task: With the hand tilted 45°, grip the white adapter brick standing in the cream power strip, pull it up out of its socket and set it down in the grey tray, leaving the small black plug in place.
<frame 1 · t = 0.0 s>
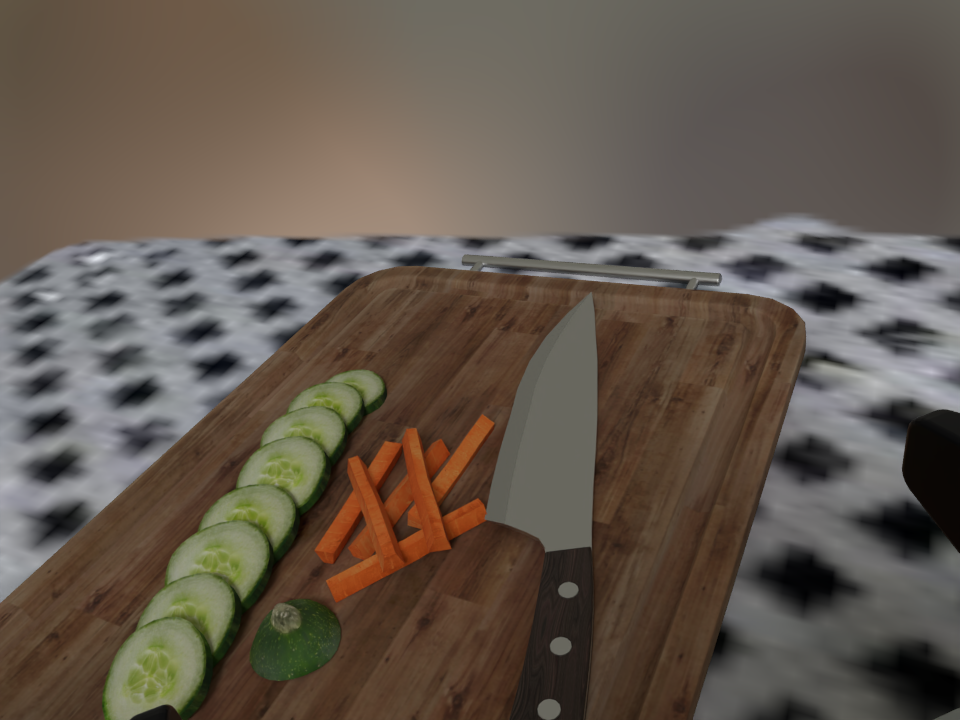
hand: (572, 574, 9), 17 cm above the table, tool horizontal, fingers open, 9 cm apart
chopping board: (391, 552, 34), on the table
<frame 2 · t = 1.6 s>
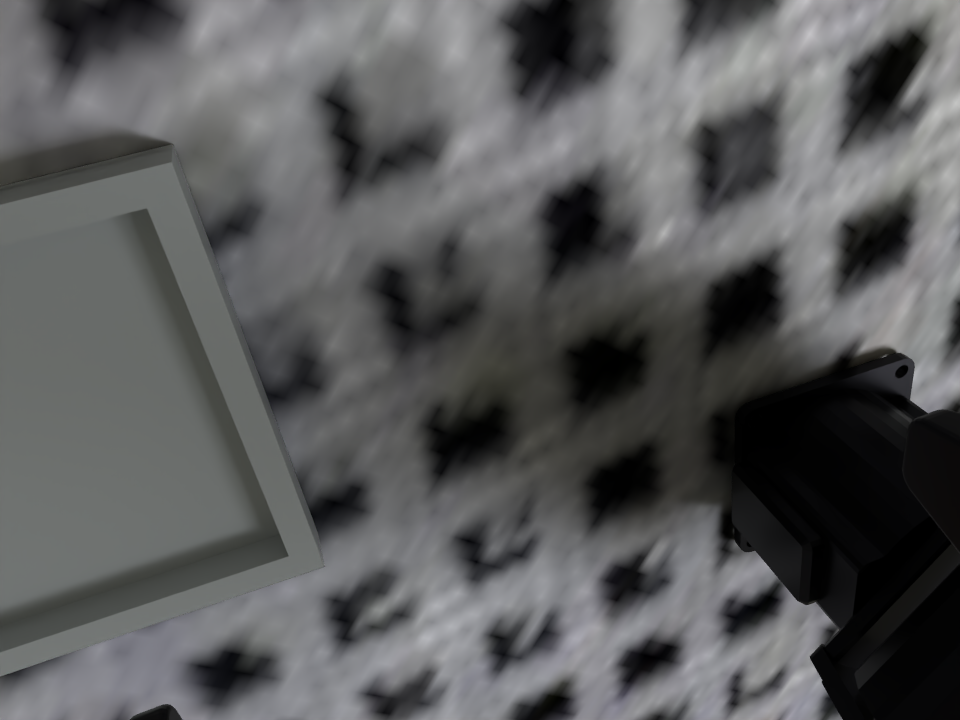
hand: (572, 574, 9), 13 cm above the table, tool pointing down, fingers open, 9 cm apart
tray: (16, 439, 20), on the table
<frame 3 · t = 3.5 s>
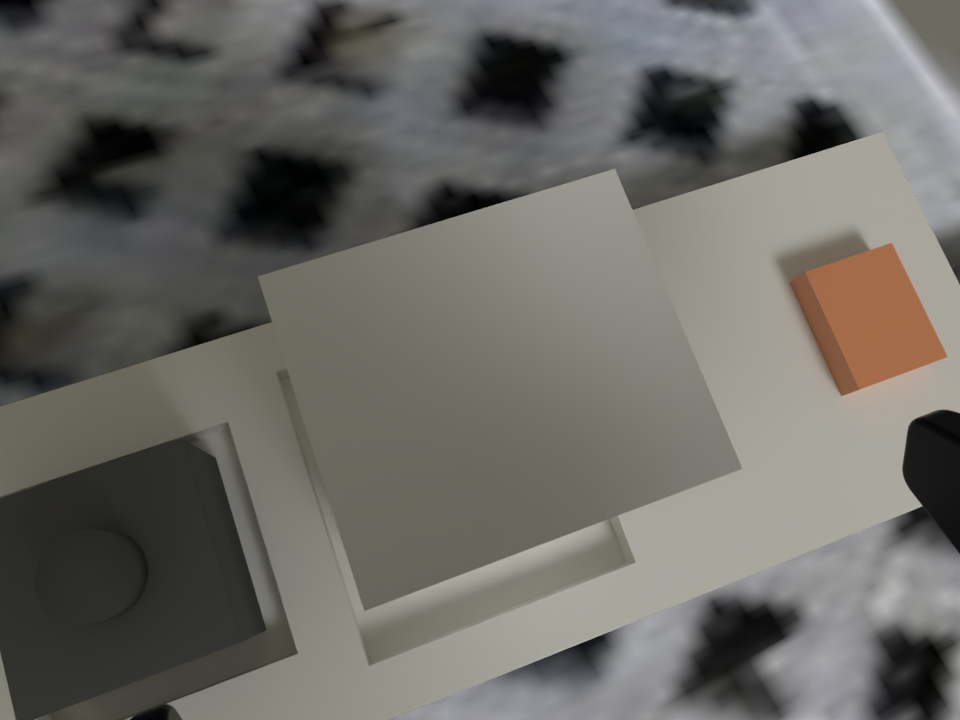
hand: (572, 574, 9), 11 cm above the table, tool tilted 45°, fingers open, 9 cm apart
adapter: (451, 468, 19), point 1 cm above the table, touching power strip
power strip: (507, 453, 20), on the table
black plug: (151, 573, 18), point 1 cm above the table, touching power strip
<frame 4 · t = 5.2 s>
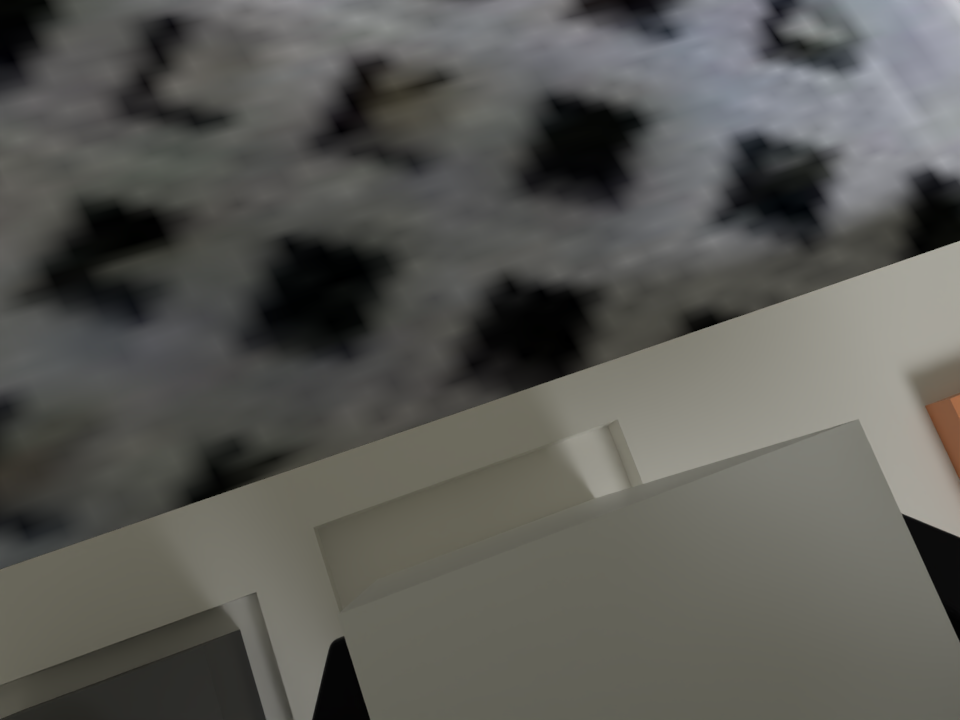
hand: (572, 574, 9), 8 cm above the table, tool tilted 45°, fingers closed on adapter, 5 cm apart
adapter: (524, 637, 16), point 1 cm above the table, touching gripper, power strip
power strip: (587, 609, 17), on the table
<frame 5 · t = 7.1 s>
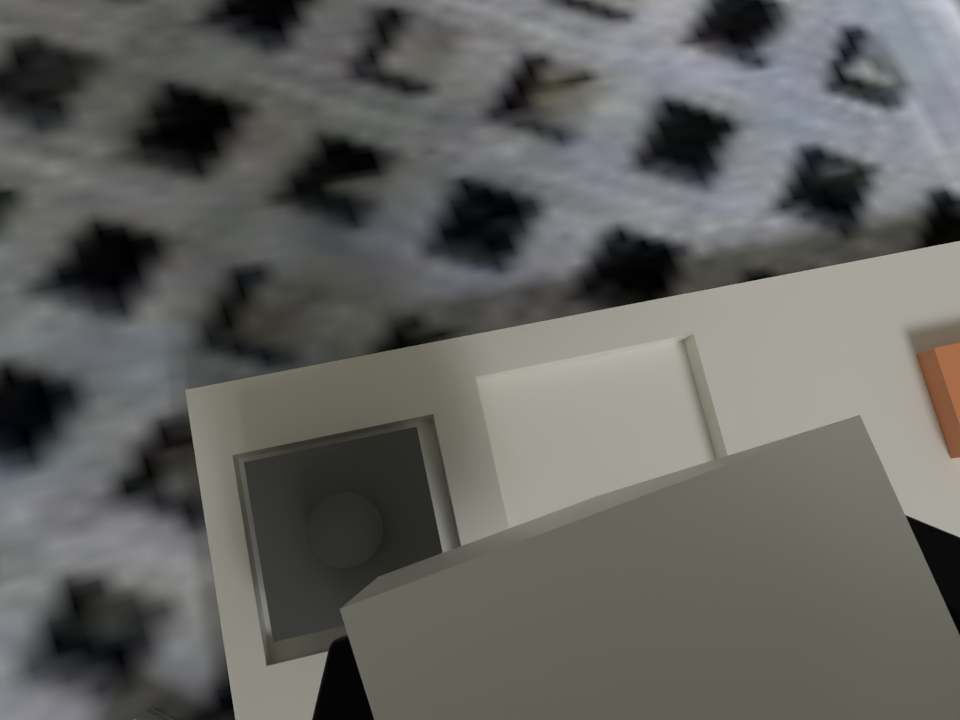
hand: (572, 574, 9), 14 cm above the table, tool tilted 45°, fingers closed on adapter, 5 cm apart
adapter: (524, 635, 16), point 6 cm above the table, touching gripper
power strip: (652, 469, 24), on the table
black plug: (354, 532, 22), point 1 cm above the table, touching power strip
when the fingers open (8 cm above the table, at t = 9.3 s): adapter stays where it is, resting on tray.
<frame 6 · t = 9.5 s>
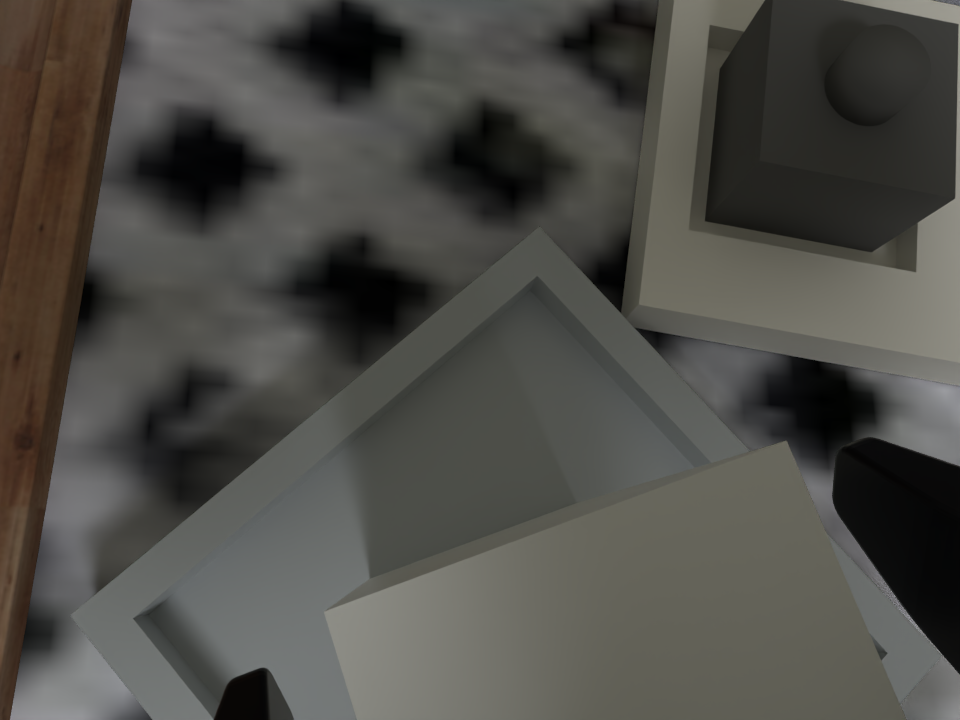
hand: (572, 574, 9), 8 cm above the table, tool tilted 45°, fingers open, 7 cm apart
adapter: (508, 634, 17), resting on tray
black plug: (794, 159, 20), point 1 cm above the table, touching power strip
tray: (514, 630, 17), on the table
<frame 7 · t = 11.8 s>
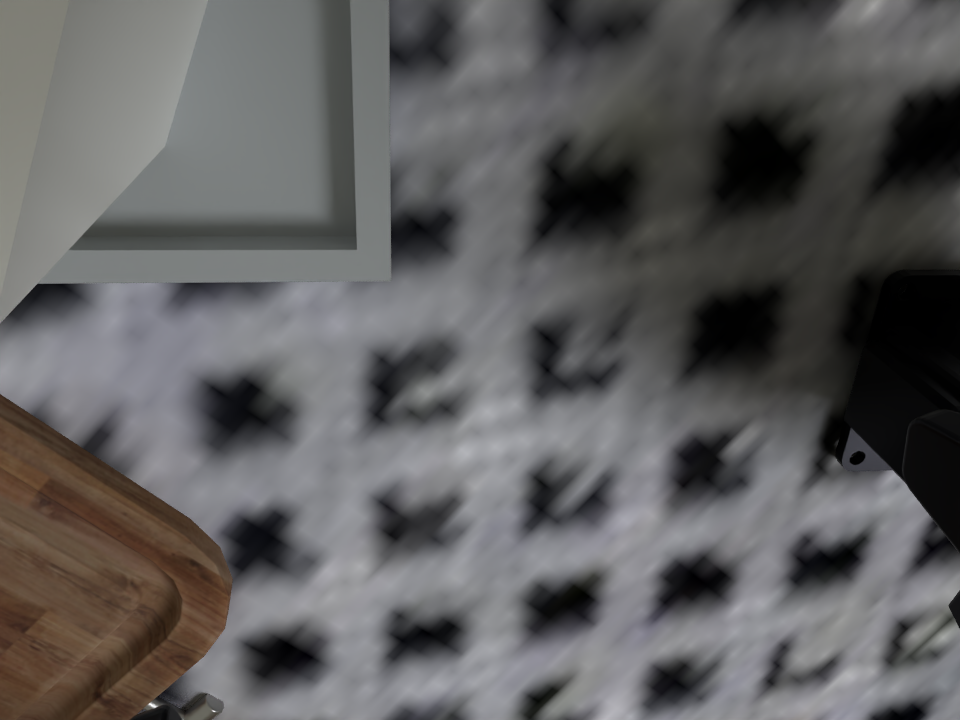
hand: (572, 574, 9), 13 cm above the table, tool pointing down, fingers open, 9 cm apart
adapter: (99, 8, 18), resting on tray
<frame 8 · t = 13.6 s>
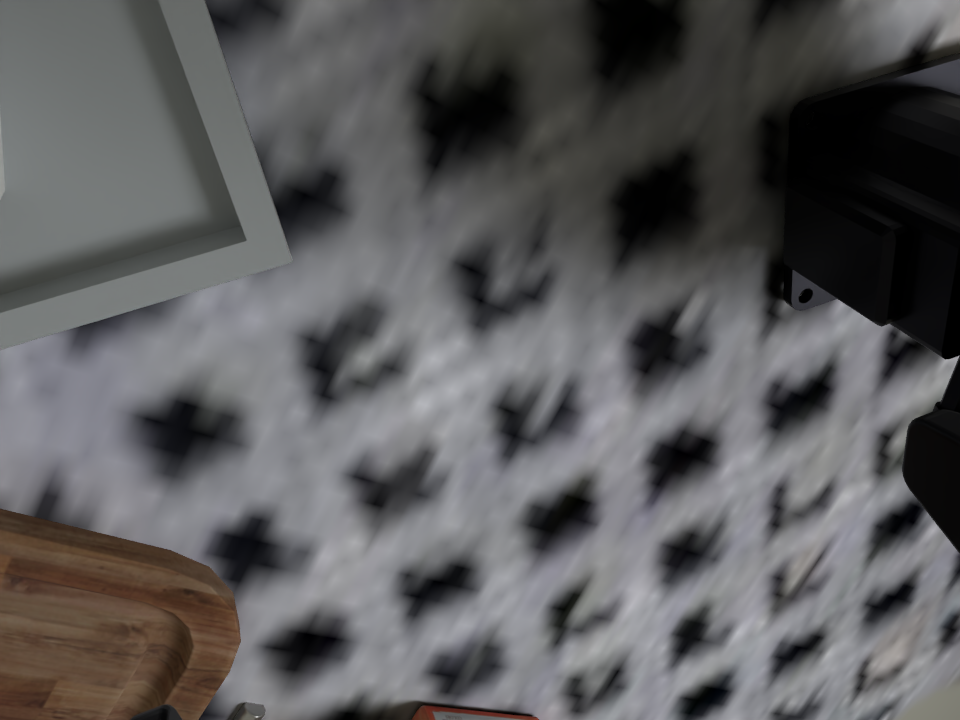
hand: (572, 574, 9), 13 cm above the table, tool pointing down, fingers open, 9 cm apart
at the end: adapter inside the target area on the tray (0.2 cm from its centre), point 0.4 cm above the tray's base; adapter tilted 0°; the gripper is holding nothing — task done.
